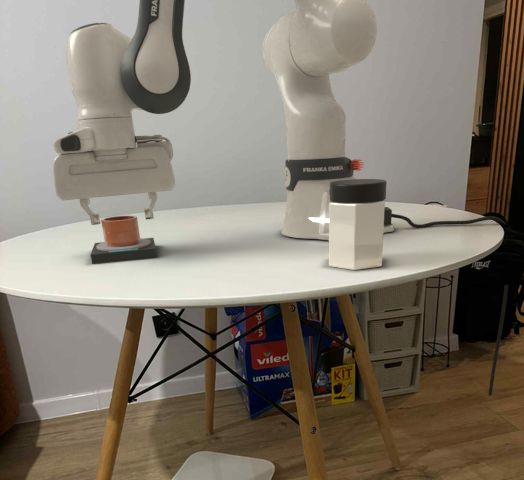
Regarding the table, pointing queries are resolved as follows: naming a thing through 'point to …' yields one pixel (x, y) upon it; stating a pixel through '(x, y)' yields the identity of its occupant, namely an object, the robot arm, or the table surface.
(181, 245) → the table surface
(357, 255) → the jar
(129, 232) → the cup
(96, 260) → the scale
